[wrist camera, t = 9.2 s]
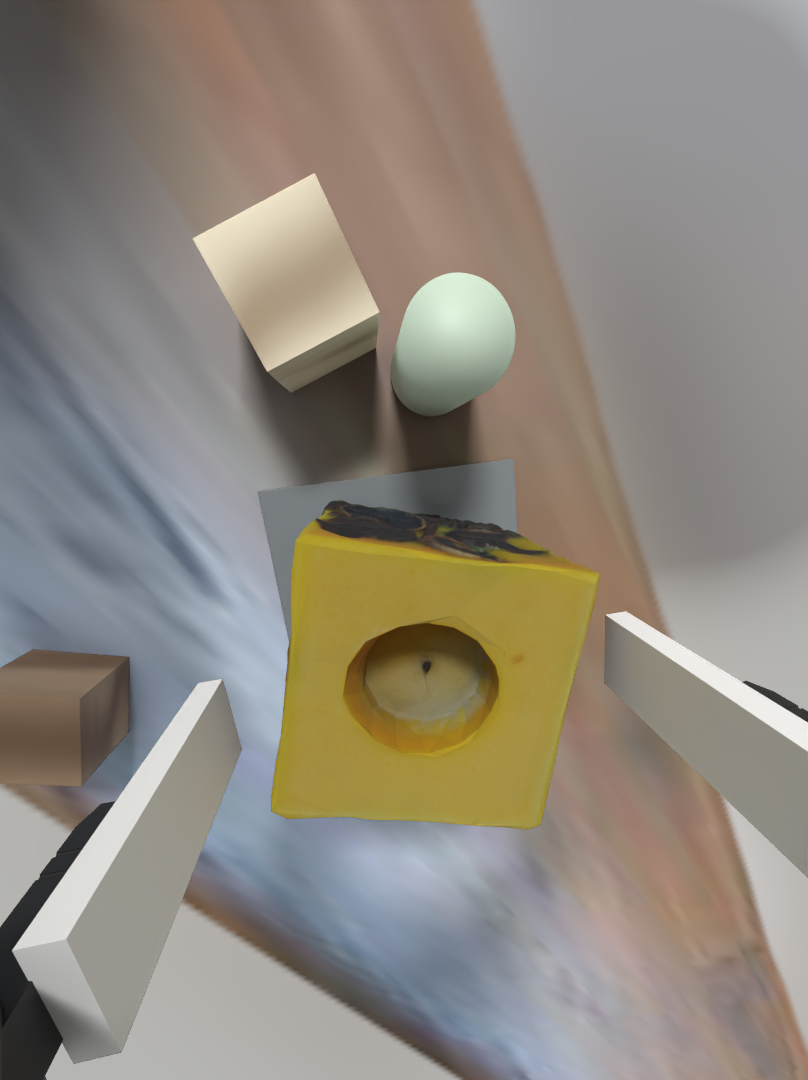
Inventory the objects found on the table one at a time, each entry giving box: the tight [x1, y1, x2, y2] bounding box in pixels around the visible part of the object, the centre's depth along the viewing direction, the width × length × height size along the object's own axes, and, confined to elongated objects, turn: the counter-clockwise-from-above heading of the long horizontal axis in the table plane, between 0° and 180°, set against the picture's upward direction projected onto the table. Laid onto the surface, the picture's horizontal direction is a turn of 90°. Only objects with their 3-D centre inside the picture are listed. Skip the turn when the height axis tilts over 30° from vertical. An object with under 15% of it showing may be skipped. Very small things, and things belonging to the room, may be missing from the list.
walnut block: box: [0, 649, 129, 787], centre depth 20 cm, size 5×5×4 cm
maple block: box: [193, 173, 379, 393], centre depth 17 cm, size 5×5×5 cm
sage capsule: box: [391, 273, 515, 416], centre depth 17 cm, size 4×4×6 cm
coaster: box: [258, 459, 517, 642], centre depth 22 cm, size 14×14×1 cm
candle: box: [271, 500, 600, 829], centre depth 17 cm, size 10×10×10 cm
